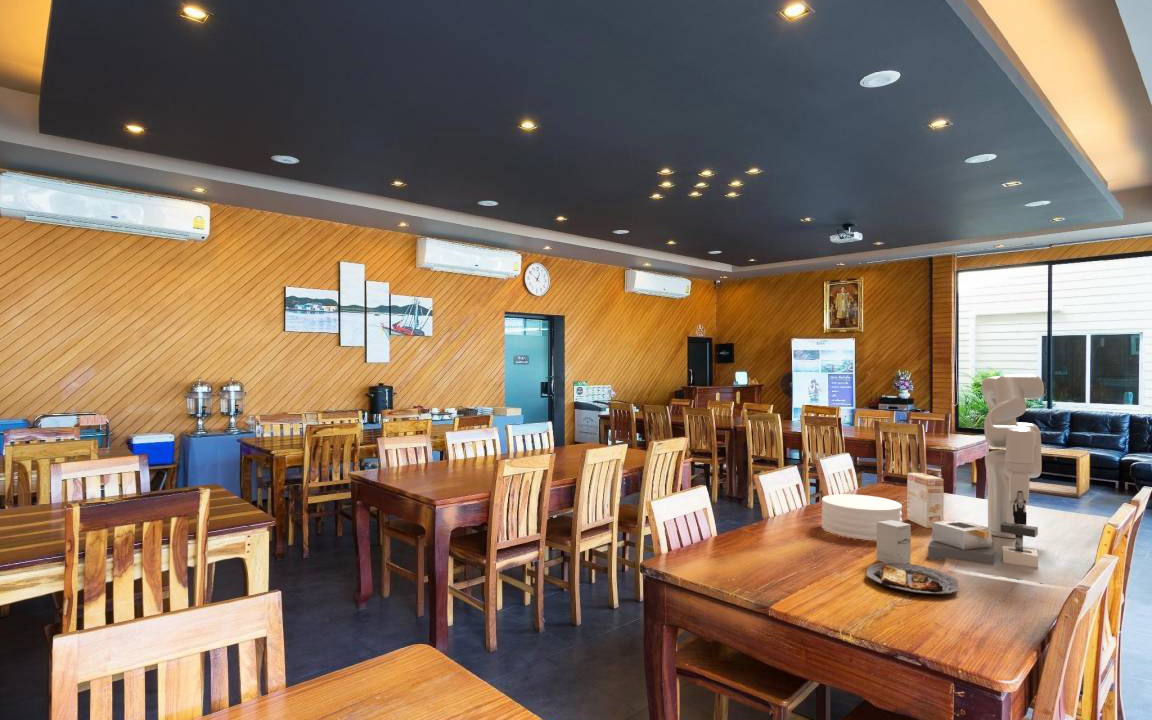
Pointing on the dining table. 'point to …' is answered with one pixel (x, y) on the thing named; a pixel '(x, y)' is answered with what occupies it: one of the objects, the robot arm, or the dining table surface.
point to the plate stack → (857, 514)
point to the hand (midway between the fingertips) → (1019, 520)
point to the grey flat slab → (961, 553)
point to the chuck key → (1019, 533)
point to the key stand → (1020, 556)
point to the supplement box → (893, 542)
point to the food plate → (912, 578)
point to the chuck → (961, 534)
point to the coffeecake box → (925, 499)
